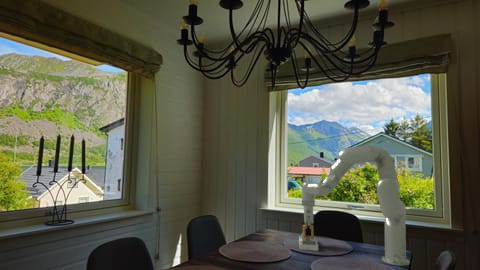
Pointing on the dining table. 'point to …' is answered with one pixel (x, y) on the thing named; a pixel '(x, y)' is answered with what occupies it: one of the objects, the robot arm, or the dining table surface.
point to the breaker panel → (308, 243)
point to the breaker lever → (311, 232)
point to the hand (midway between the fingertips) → (308, 234)
